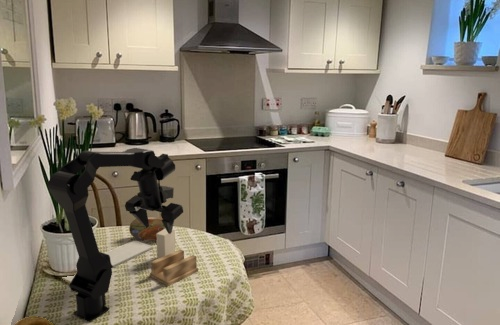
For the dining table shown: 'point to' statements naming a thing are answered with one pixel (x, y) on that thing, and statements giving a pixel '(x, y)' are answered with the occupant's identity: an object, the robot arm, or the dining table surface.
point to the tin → (146, 229)
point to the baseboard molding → (123, 254)
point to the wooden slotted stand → (173, 267)
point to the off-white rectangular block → (165, 243)
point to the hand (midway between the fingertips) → (158, 230)
